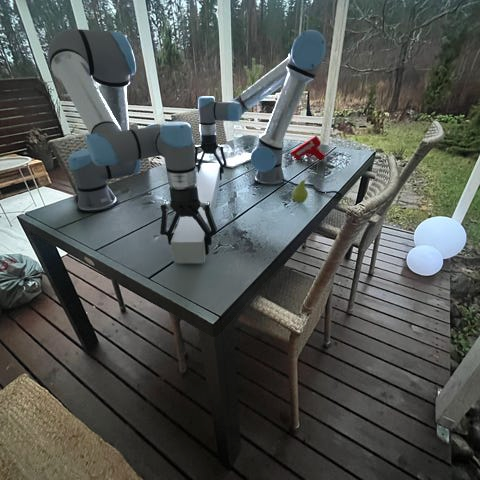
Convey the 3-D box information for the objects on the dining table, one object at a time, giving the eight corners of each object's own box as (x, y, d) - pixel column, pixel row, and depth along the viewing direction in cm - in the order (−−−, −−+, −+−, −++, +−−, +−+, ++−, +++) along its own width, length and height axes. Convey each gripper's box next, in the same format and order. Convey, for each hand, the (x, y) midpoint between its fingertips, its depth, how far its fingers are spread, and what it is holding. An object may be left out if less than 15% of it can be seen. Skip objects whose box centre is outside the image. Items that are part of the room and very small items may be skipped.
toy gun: (328, 155, 171) (316, 134, 167) (328, 157, 168) (316, 136, 164) (303, 170, 181) (291, 151, 177) (303, 172, 178) (290, 152, 174)
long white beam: (203, 177, 144) (202, 163, 140) (220, 177, 144) (220, 163, 140) (174, 263, 82) (170, 242, 78) (204, 263, 82) (202, 242, 77)
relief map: (232, 167, 162) (232, 159, 160) (191, 158, 180) (190, 150, 177) (257, 157, 181) (258, 149, 178) (218, 149, 198) (217, 142, 196)
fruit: (288, 200, 123) (290, 174, 116) (302, 197, 125) (305, 172, 119) (296, 206, 118) (299, 179, 111) (310, 203, 120) (314, 177, 114)
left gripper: (138, 190, 70) (153, 259, 82) (222, 189, 70) (225, 259, 82) (146, 179, 76) (159, 245, 88) (224, 179, 76) (227, 245, 88)
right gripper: (183, 135, 124) (188, 182, 137) (231, 135, 124) (232, 181, 136) (186, 131, 131) (191, 176, 143) (231, 131, 131) (232, 176, 143)
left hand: (191, 252), depth 85 cm, fingers closed on long white beam, 9 cm apart
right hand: (211, 179), depth 140 cm, fingers closed on long white beam, 9 cm apart
